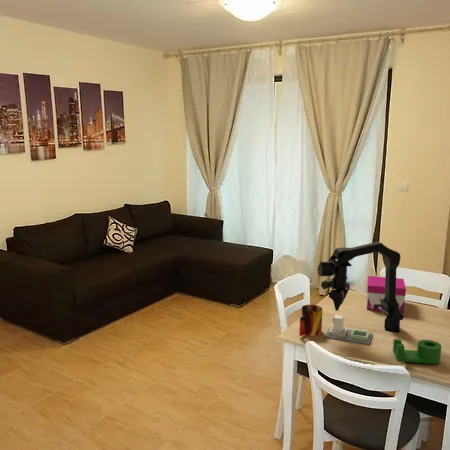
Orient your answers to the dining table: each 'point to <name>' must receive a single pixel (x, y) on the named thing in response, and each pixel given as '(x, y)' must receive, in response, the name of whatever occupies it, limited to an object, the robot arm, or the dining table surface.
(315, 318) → the mug
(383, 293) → the decorative box
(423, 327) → the dining table surface
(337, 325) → the plug
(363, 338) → the panel
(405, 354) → the green bracket
